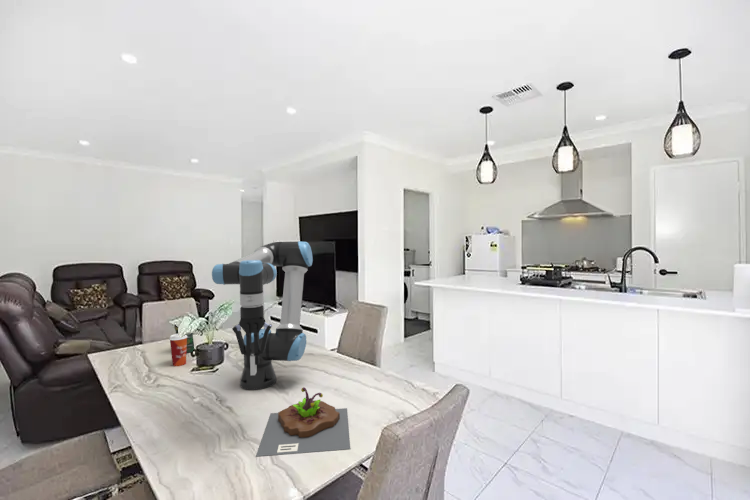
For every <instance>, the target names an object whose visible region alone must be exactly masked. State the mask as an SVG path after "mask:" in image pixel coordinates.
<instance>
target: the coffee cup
mask: <svg viewBox="0 0 750 500" xmlns="http://www.w3.org/2000/svg"><path fill="white" fill-rule="evenodd" d="M187 337H188V336H187V335H185V336H183V337H182V338H181V337H179V335H178V334H176V333H174V334H171V335H170V336H169V342H170V352H171V353H170V354H171V361H172V366H173V367H180V366H185V365H186V364H187V353H186V350H187Z"/></svg>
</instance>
